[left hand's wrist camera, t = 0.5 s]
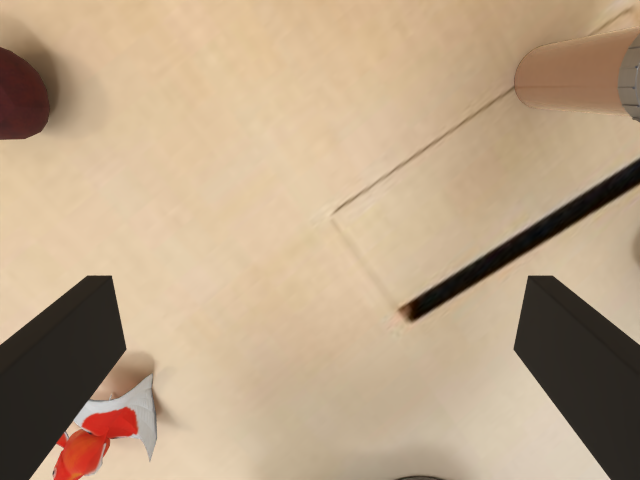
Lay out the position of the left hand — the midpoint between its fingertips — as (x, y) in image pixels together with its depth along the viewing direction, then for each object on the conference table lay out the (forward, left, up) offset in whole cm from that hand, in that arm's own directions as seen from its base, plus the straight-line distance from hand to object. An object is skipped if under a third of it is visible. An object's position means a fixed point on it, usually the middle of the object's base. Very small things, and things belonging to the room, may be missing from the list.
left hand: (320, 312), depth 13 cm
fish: (-29, +25, -28) cm, 47 cm away
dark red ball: (+6, +27, -28) cm, 39 cm away
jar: (+8, -20, -28) cm, 35 cm away
